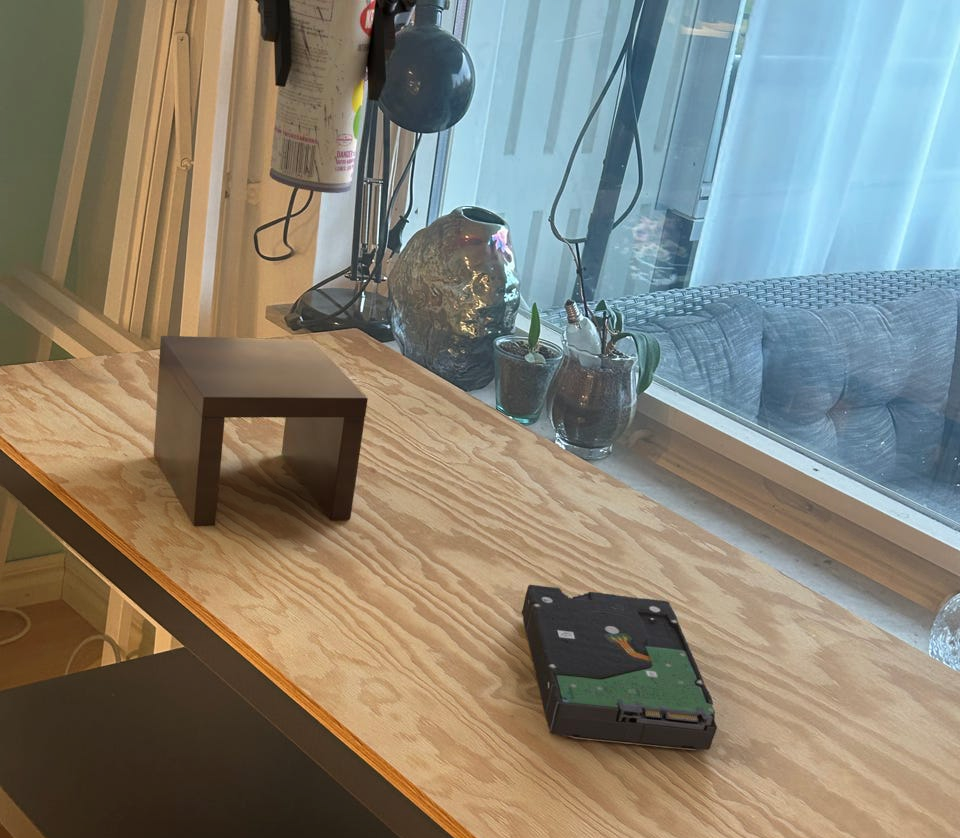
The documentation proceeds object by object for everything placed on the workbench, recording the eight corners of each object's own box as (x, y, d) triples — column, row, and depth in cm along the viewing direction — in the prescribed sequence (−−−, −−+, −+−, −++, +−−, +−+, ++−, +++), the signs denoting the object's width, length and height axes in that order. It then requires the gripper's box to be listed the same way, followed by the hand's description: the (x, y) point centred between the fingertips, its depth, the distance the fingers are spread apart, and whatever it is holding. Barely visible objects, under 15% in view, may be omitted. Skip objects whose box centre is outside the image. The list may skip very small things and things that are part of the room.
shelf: (153, 456, 104) (160, 335, 99) (299, 454, 109) (313, 339, 104) (193, 526, 95) (203, 397, 90) (350, 520, 100) (368, 398, 95)
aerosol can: (355, 197, 109) (392, -74, 99) (272, 185, 107) (300, -92, 98) (346, 177, 115) (380, -81, 105) (266, 166, 113) (293, -98, 103)
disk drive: (516, 618, 92) (548, 740, 79) (524, 582, 90) (558, 700, 78) (660, 633, 94) (713, 755, 81) (669, 598, 92) (725, 716, 79)
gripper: (423, -106, 116) (437, 128, 111) (193, -153, 110) (197, 93, 104) (448, -174, 109) (465, 72, 104) (205, -228, 103) (209, 31, 98)
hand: (330, 82), depth 104 cm, fingers closed on aerosol can, 7 cm apart
